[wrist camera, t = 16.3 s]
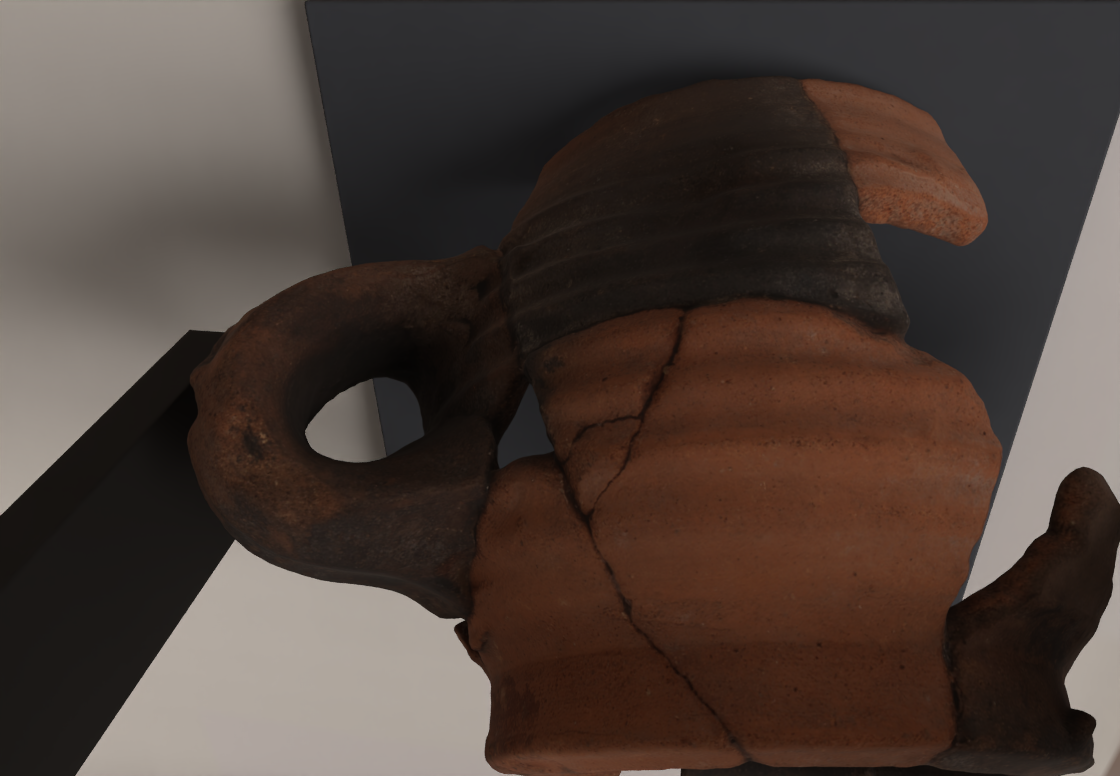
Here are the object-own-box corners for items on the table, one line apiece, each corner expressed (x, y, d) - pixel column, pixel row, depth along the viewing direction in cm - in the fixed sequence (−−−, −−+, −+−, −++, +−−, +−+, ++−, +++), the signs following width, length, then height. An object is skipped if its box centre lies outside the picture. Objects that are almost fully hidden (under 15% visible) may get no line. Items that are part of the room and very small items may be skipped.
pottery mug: (1179, 88, 11) (1452, 777, 8) (829, 392, 20) (882, 796, 16) (215, -109, 9) (-28, 731, 6) (276, 328, 18) (194, 780, 14)
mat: (1143, -8, 11) (1157, 0, 11) (951, 600, 17) (956, 620, 17) (316, -6, 13) (302, 1, 12) (412, 545, 19) (404, 562, 18)
